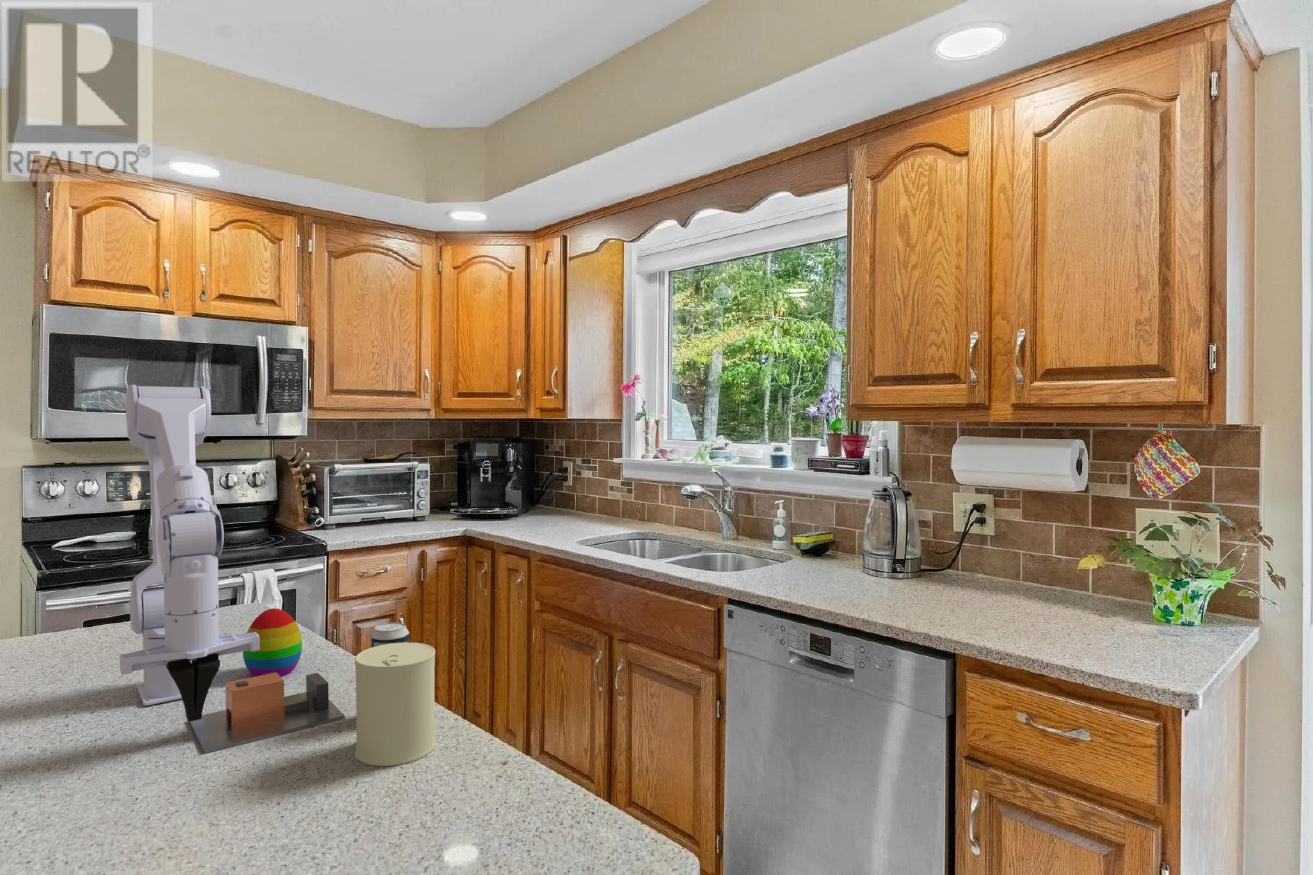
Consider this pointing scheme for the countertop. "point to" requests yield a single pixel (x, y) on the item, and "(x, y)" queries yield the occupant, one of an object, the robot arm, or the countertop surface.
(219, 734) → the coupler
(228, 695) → the orange block
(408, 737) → the can
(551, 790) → the countertop surface
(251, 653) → the decorative egg
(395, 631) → the beer can
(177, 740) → the countertop surface
